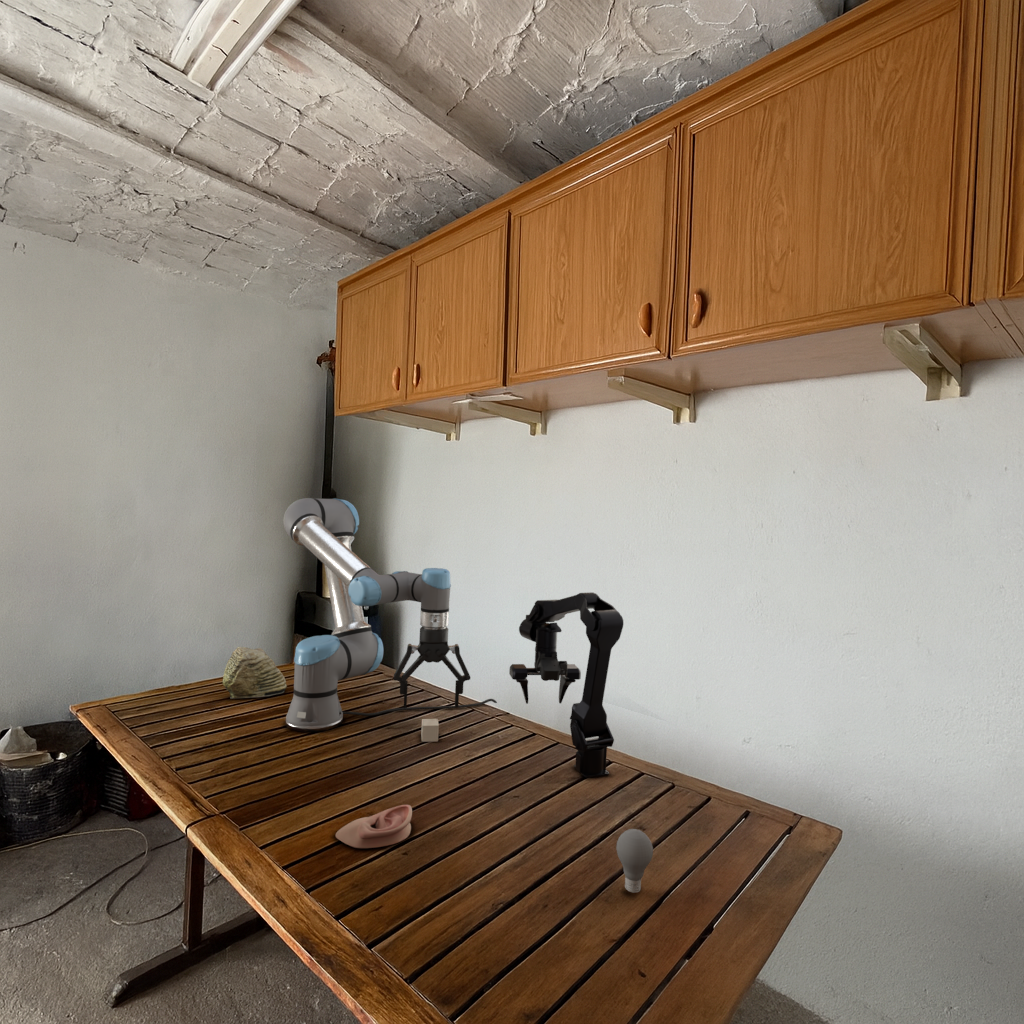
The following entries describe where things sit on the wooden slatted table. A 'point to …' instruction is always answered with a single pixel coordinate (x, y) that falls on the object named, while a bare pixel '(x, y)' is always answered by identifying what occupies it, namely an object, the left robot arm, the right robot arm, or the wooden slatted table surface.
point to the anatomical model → (378, 828)
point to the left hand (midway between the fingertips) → (430, 706)
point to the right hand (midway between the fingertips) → (543, 703)
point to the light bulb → (634, 857)
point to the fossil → (252, 674)
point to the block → (429, 730)
